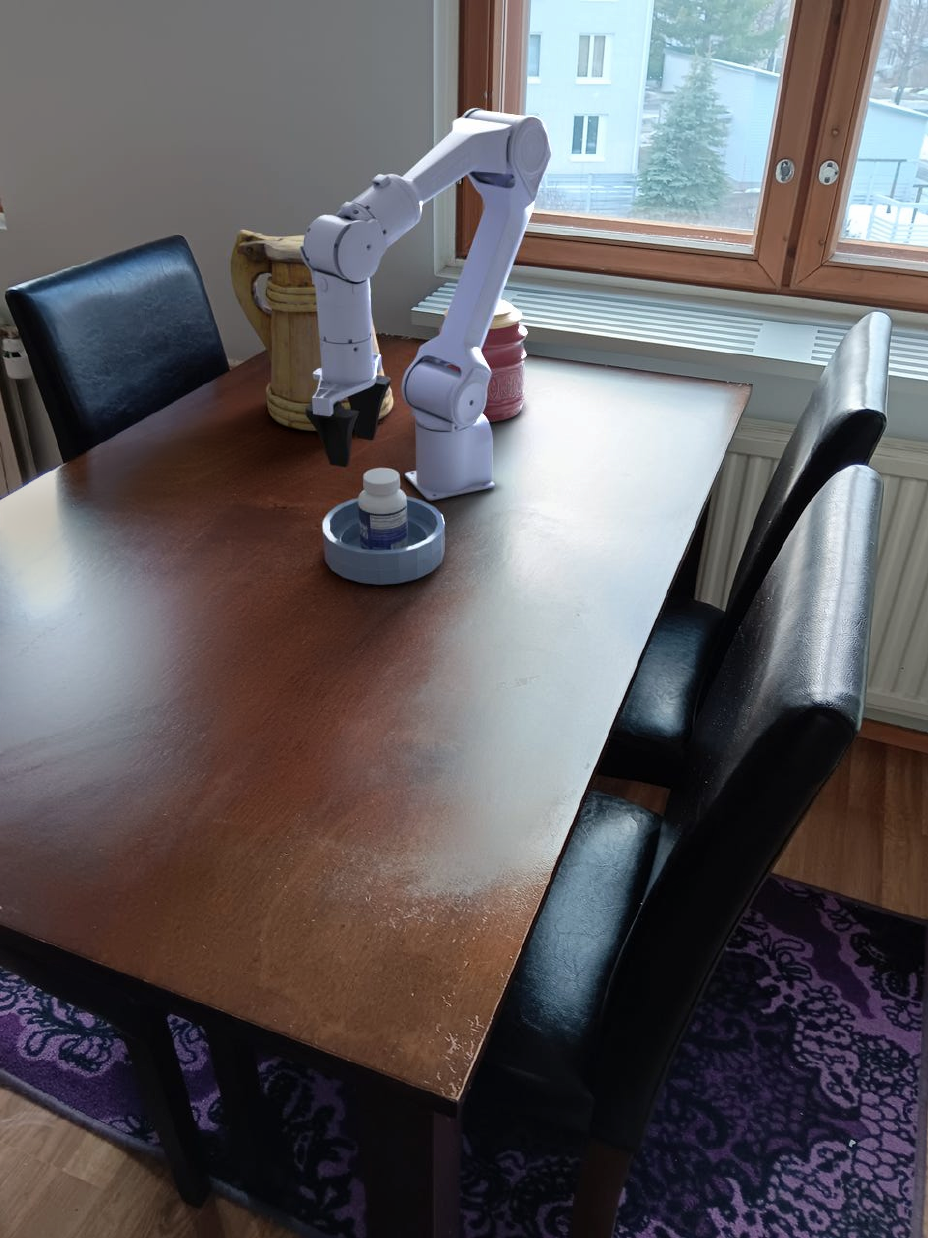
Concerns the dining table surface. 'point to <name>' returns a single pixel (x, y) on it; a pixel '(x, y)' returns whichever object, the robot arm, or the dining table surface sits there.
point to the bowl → (384, 564)
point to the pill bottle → (382, 511)
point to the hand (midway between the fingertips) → (352, 451)
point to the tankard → (285, 322)
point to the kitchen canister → (503, 363)
